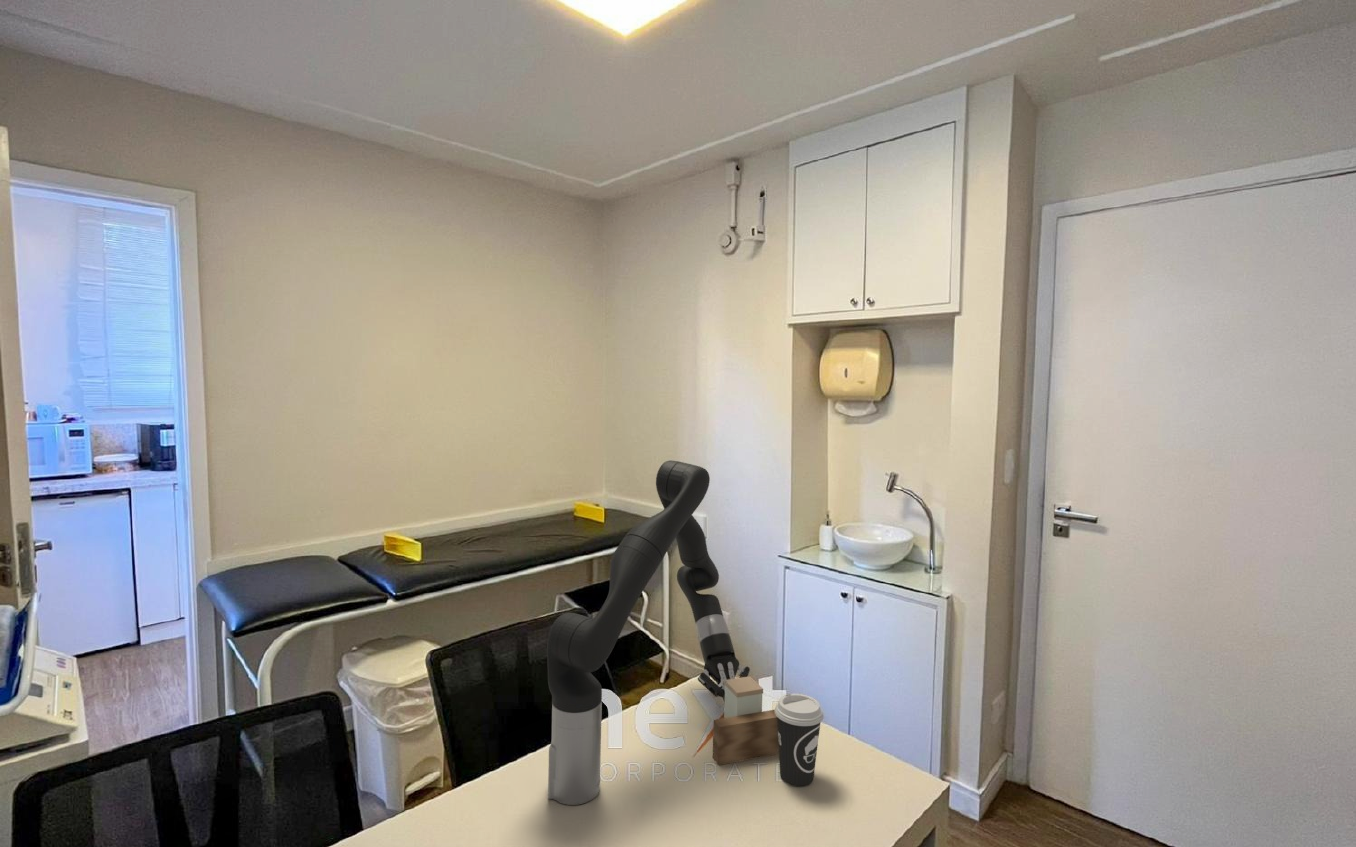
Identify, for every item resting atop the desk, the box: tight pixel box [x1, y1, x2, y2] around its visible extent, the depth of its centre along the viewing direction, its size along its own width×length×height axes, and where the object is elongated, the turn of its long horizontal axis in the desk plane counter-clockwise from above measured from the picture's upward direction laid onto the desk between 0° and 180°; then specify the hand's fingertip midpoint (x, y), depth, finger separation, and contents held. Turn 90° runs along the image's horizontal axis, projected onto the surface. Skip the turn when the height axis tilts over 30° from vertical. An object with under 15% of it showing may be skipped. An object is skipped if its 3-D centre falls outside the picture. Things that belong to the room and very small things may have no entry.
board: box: [712, 709, 779, 766], centre depth 131 cm, size 16×3×8 cm, turn 110°
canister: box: [723, 675, 764, 718], centre depth 136 cm, size 6×6×13 cm
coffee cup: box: [773, 693, 825, 788], centre depth 124 cm, size 10×10×15 cm
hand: (734, 713), depth 139 cm, fingers closed
